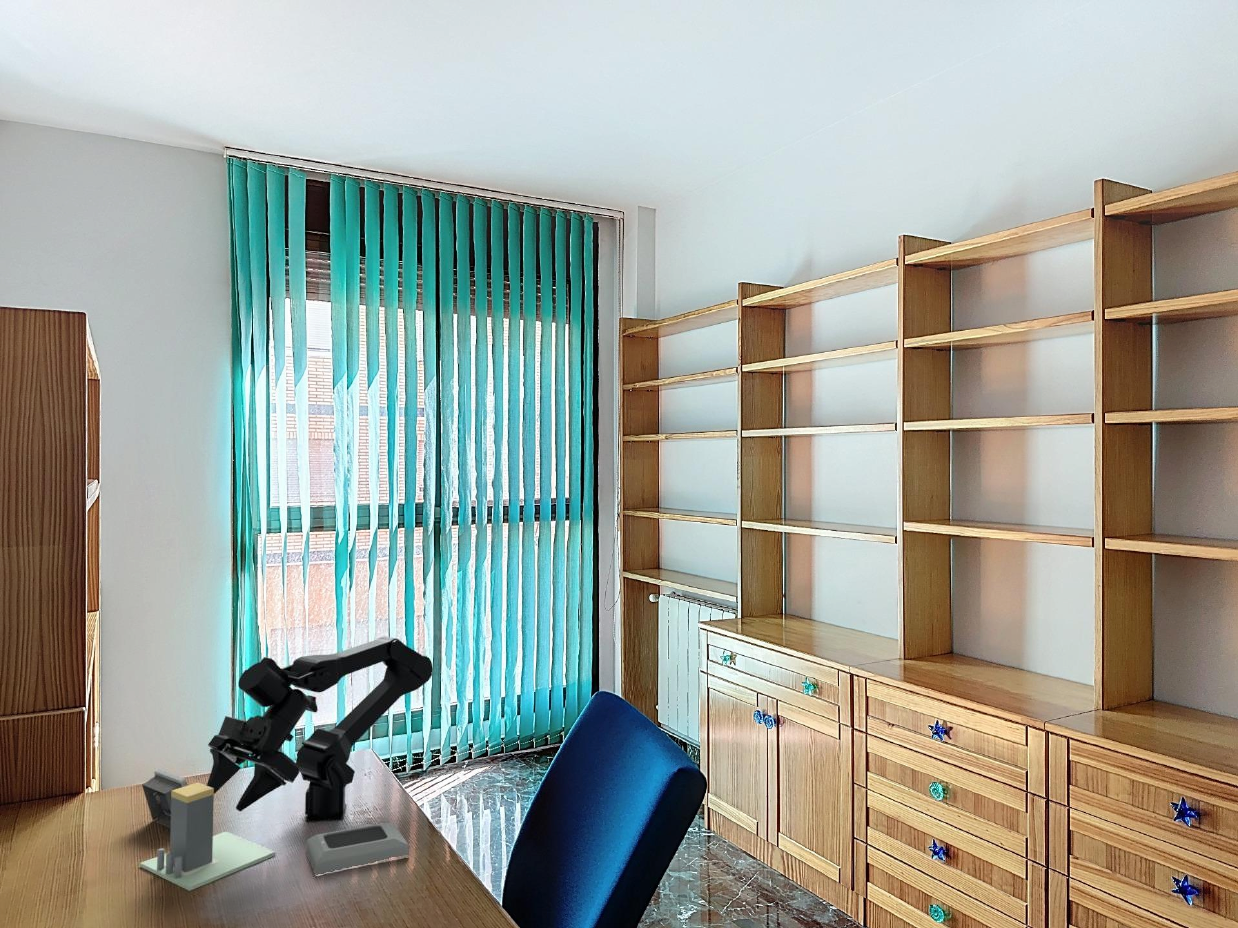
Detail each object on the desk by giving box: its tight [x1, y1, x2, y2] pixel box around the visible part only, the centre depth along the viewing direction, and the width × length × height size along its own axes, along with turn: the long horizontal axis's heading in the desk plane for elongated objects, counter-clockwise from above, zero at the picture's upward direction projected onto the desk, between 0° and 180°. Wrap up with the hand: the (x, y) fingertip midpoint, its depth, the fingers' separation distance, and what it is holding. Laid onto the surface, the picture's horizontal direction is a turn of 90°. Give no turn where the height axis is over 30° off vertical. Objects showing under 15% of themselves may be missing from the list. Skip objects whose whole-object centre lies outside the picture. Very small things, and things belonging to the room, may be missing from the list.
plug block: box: [169, 782, 215, 872], centre depth 141 cm, size 4×4×12 cm
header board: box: [139, 831, 276, 891], centre depth 144 cm, size 15×14×4 cm
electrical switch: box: [141, 769, 189, 829], centre depth 158 cm, size 9×5×9 cm, turn 57°
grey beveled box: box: [305, 822, 410, 875], centre depth 147 cm, size 10×4×15 cm
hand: (221, 803), depth 145 cm, fingers open, 9 cm apart
